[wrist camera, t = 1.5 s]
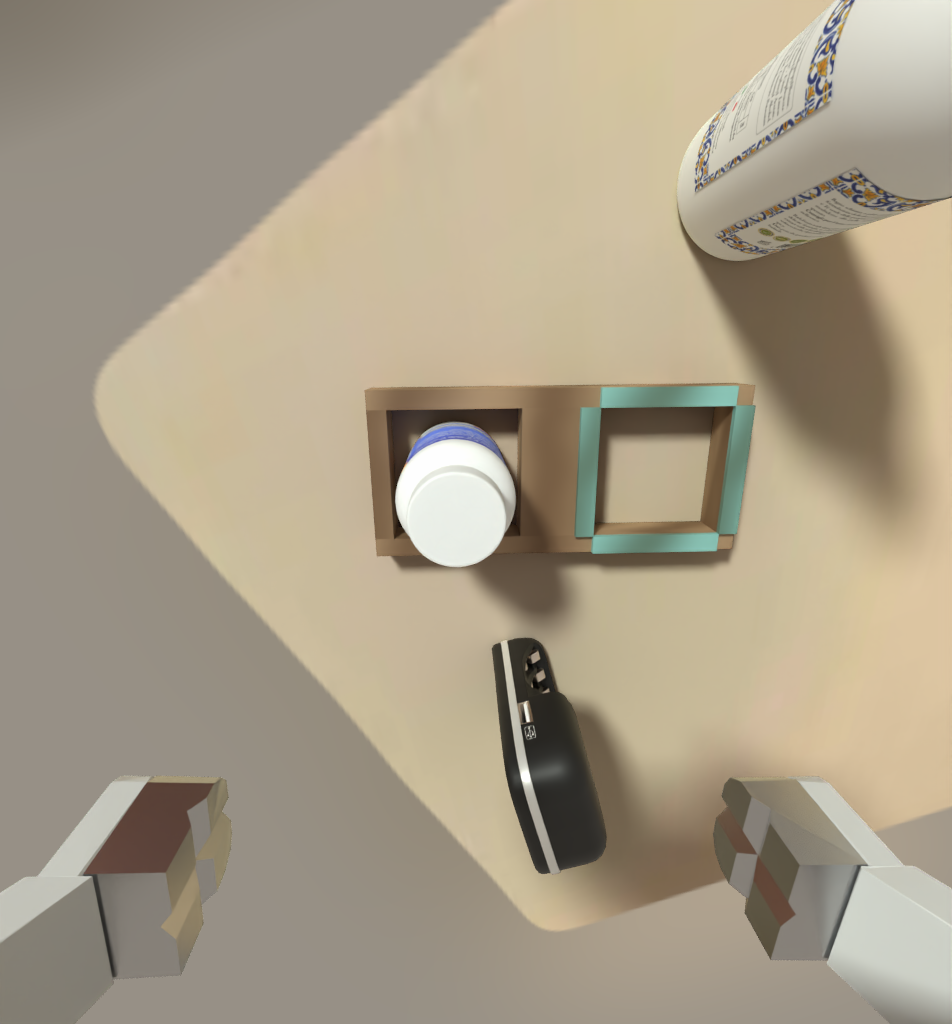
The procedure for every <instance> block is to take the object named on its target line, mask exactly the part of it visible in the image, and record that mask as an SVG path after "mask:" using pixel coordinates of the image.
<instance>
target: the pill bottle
mask: <svg viewBox="0 0 952 1024" xmlns="http://www.w3.org/2000/svg"><path fill="white" fill-rule="evenodd" d="M395 503H396V511H397V515H398V518H399V520H400V523H401V525H402V527H403V528H404V530H405V532H406V533H407V534H408V536H409V537H410V538H411V541H412V542H413V544H414V545H415V547H416V548H417V549H418V551H419V552H420V553H421V554H423V555H424V556H425V557H426V558H428V559H429V560H431V561H433V562H435V563H437V564H440V565H443V566H448V567H465V566H470V565H473V564H476V563H478V562H480V561H482V560H484V559H485V558H487V557H488V556H489V555H491V554H492V553H493V552H494V551H495V549H496V548H497V547H498V546H499V544H500V542H501V541H502V539H503V536H504V533H505V532H506V531H507V529H508V527H509V525H510V523H511V521H512V518H513V515H514V511H515V506H516V494H515V487H514V483H513V480H512V477H511V475H510V472H509V470H508V468H507V466H506V464H505V462H504V460H503V458H502V455H501V453H500V450H499V448H498V446H497V444H496V443H495V441H494V440H493V439H492V437H491V436H490V435H489V434H487V433H486V432H485V431H484V430H482V429H481V428H479V427H477V426H475V425H473V424H470V423H466V422H459V421H450V422H444V423H440V424H438V425H435V426H433V427H431V428H430V429H428V430H427V431H425V432H424V433H423V434H422V435H421V436H420V437H419V438H418V440H417V441H416V442H415V444H414V445H413V447H412V449H411V451H410V454H409V456H408V459H407V461H406V464H405V466H404V468H403V470H402V473H401V475H400V478H399V481H398V484H397V489H396V496H395Z"/></svg>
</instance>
